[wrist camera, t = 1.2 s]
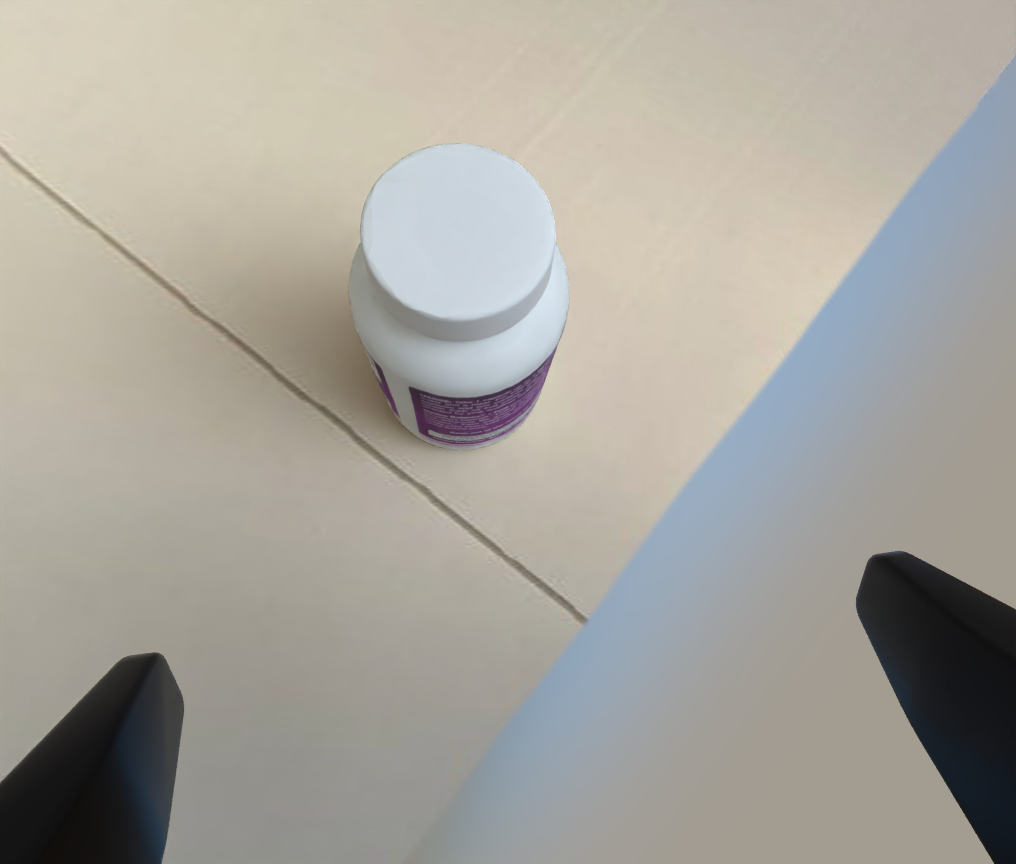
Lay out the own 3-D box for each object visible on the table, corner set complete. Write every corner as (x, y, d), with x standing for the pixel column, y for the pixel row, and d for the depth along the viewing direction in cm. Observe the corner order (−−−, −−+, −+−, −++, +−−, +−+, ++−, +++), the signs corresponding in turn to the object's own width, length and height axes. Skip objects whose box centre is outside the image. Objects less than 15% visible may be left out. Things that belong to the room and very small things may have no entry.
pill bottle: (569, 349, 24) (640, 191, 14) (491, 482, 23) (511, 405, 13) (433, 272, 24) (415, 68, 15) (349, 400, 23) (270, 266, 13)
